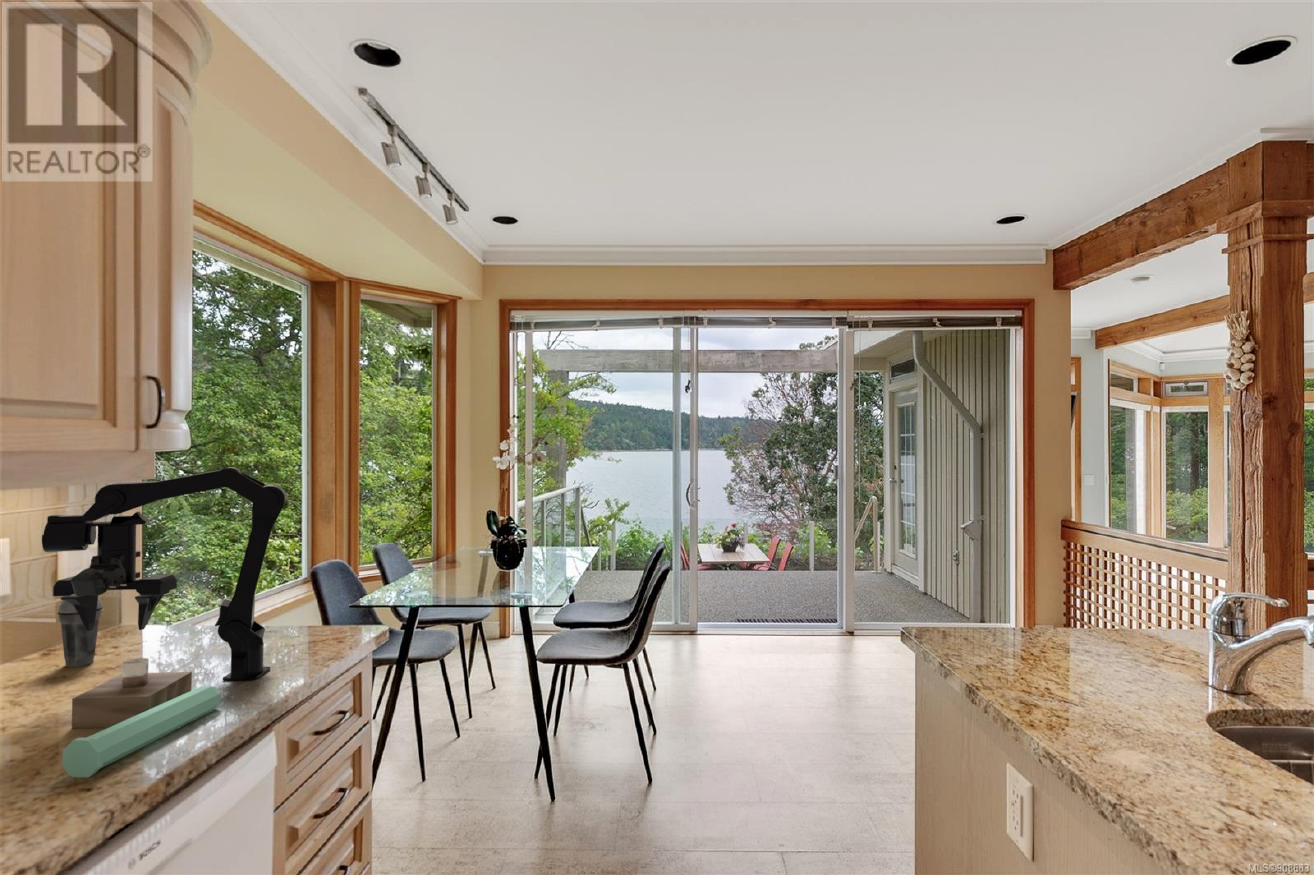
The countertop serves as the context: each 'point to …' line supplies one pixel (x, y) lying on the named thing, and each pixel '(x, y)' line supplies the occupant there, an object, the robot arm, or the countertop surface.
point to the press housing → (126, 699)
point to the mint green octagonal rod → (137, 732)
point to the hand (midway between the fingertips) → (115, 630)
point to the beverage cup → (77, 636)
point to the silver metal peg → (135, 672)
